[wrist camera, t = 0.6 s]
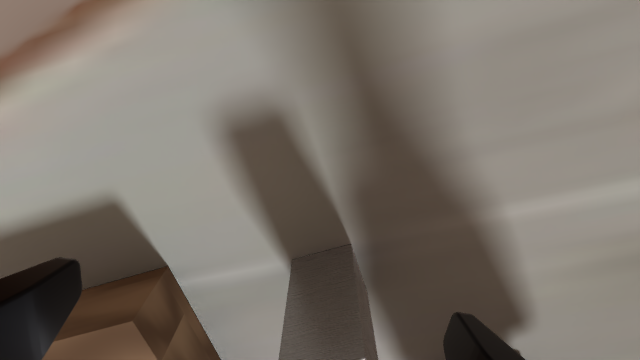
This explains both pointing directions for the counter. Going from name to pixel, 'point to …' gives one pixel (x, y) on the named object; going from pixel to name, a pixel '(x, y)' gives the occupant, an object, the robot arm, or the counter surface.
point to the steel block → (327, 309)
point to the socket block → (133, 323)
